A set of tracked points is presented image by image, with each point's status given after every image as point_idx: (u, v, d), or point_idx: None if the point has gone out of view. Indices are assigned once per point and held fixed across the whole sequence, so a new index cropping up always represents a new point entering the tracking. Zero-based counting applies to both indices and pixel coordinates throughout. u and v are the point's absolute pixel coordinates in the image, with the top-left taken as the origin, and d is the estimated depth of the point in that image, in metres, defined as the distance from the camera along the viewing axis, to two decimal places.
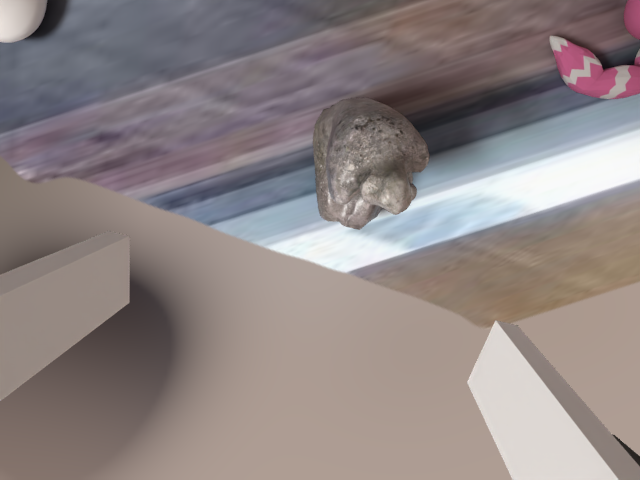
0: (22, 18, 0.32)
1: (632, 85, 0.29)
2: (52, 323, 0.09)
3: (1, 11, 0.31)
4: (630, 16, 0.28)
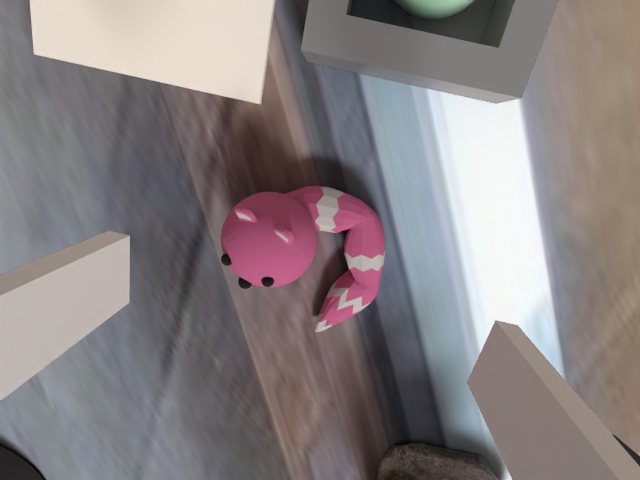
0: None
1: (372, 249, 0.21)
2: (52, 323, 0.09)
3: None
4: None
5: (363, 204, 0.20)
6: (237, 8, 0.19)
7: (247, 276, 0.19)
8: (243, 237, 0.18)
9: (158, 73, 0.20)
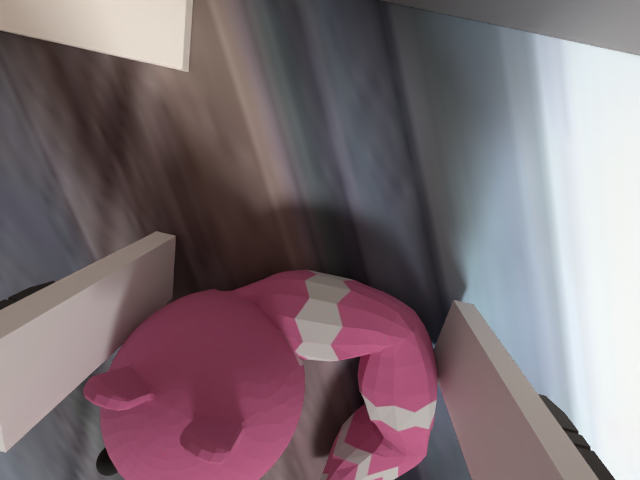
0: None
1: (416, 395, 0.10)
2: (117, 316, 0.09)
3: None
4: None
5: (392, 309, 0.10)
6: None
7: None
8: (125, 436, 0.08)
9: None
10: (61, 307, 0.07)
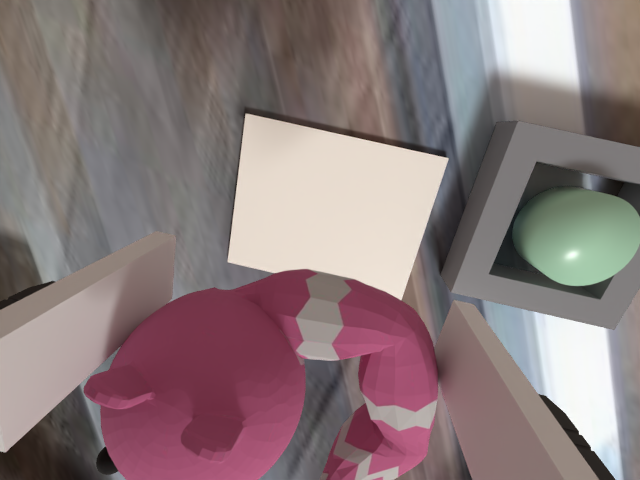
0: None
1: (417, 395, 0.10)
2: (117, 316, 0.09)
3: None
4: None
5: (393, 309, 0.10)
6: (392, 242, 0.25)
7: None
8: (126, 435, 0.08)
9: None
10: (61, 307, 0.07)
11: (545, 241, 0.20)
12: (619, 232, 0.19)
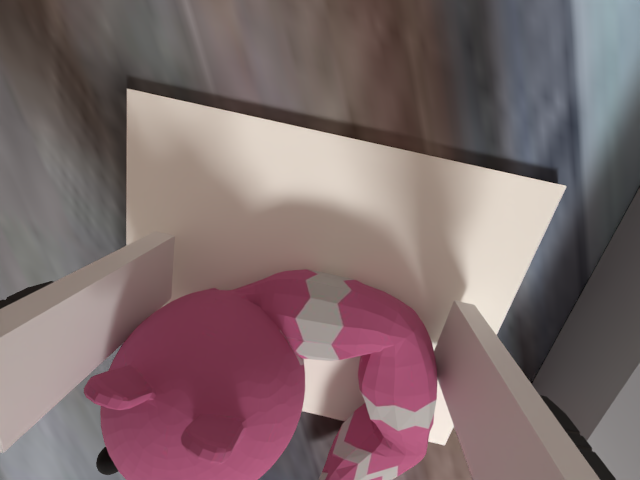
0: None
1: (416, 395, 0.10)
2: (116, 316, 0.09)
3: None
4: None
5: (392, 309, 0.10)
6: (434, 346, 0.13)
7: None
8: (126, 435, 0.08)
9: None
10: (59, 307, 0.07)
11: None
12: None
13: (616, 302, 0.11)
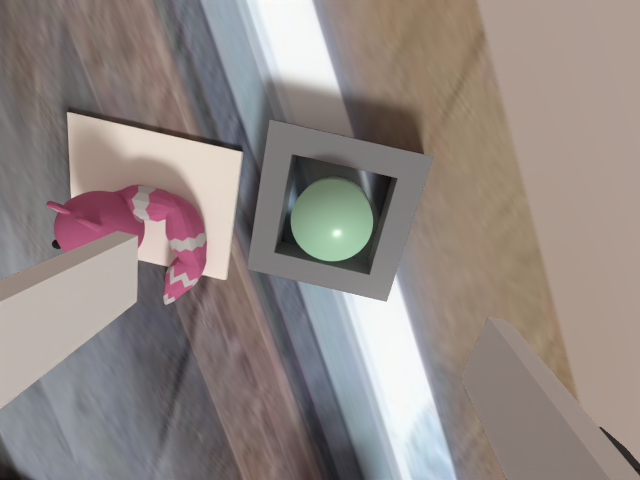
0: None
1: (181, 233, 0.26)
2: (64, 321, 0.09)
3: None
4: None
5: (171, 198, 0.26)
6: (209, 226, 0.29)
7: None
8: (60, 225, 0.23)
9: (157, 259, 0.30)
10: None
11: (298, 222, 0.23)
12: (354, 214, 0.23)
13: None
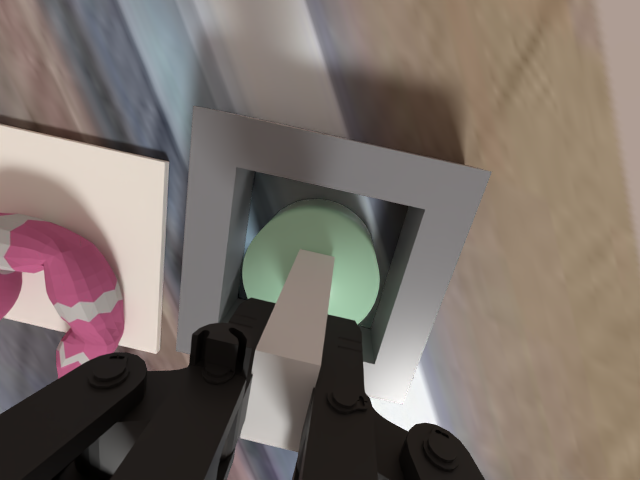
0: None
1: (68, 295, 0.16)
2: None
3: None
4: None
5: (49, 237, 0.15)
6: (124, 277, 0.18)
7: None
8: None
9: (53, 323, 0.20)
10: None
11: (255, 278, 0.14)
12: (348, 267, 0.13)
13: None
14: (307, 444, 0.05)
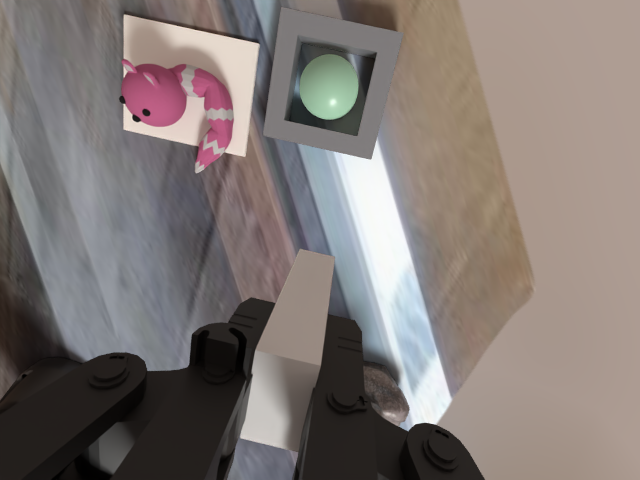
0: None
1: (217, 103, 0.34)
2: None
3: None
4: (171, 124, 0.35)
5: (211, 75, 0.33)
6: None
7: (134, 109, 0.32)
8: (129, 81, 0.31)
9: (190, 140, 0.38)
10: None
11: (305, 88, 0.33)
12: (345, 79, 0.32)
13: None
14: (307, 444, 0.05)
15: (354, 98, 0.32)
